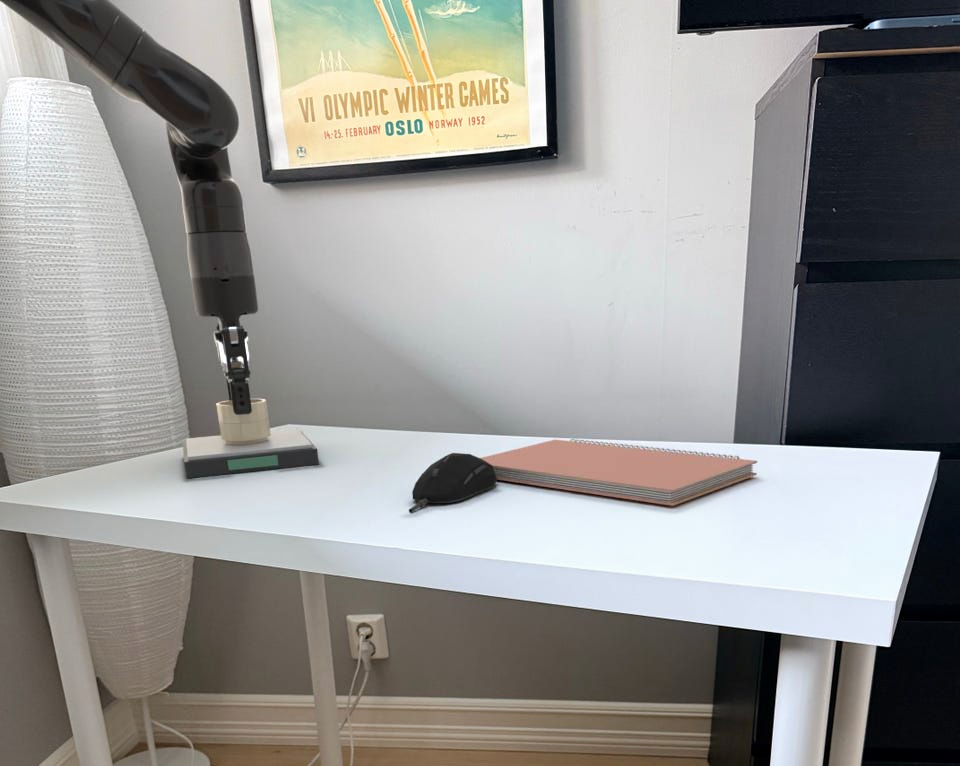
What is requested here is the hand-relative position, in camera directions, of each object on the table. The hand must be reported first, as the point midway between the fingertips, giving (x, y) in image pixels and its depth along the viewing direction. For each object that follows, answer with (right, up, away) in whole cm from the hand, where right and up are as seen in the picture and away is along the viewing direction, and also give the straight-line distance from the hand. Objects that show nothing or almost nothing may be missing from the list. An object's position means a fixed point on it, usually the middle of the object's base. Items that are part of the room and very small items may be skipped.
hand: (240, 409), depth 119 cm
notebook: (+45, -12, -17) cm, 49 cm away
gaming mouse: (+27, -15, -22) cm, 38 cm away
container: (0, -4, +2) cm, 4 cm away
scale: (0, -6, +3) cm, 7 cm away
